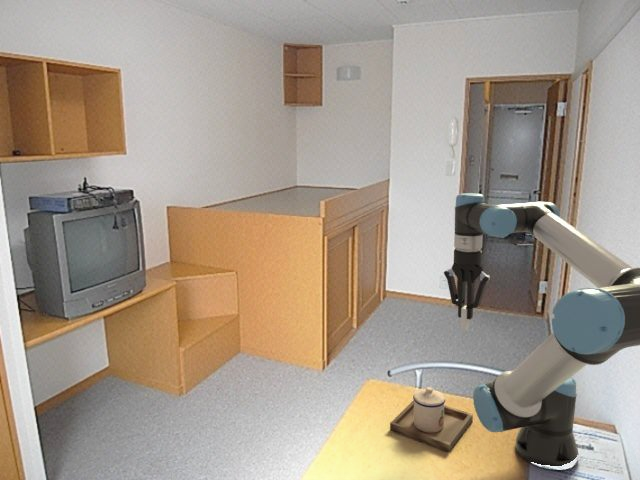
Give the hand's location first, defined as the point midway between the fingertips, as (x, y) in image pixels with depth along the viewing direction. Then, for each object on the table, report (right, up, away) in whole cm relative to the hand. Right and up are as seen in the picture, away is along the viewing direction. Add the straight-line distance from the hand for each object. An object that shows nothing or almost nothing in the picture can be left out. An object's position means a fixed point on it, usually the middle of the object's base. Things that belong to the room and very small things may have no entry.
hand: (464, 328), depth 139 cm
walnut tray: (-9, -30, +3) cm, 31 cm away
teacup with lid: (-10, -29, +4) cm, 30 cm away
